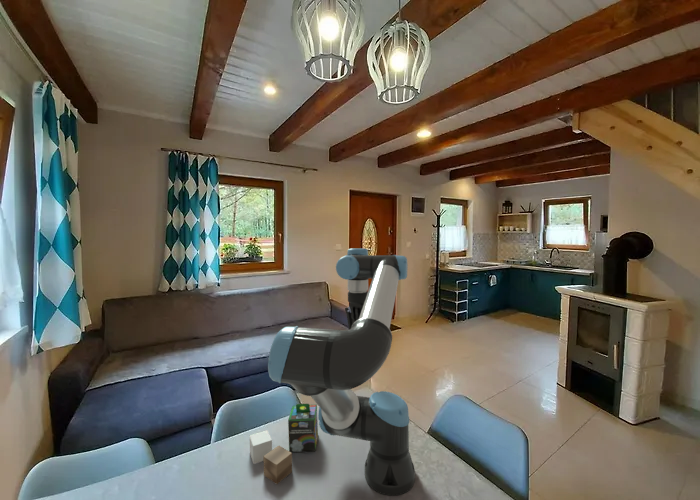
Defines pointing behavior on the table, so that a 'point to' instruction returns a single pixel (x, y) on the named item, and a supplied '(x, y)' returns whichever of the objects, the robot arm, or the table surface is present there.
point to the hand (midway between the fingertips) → (358, 355)
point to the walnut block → (277, 464)
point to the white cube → (260, 446)
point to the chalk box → (303, 428)
